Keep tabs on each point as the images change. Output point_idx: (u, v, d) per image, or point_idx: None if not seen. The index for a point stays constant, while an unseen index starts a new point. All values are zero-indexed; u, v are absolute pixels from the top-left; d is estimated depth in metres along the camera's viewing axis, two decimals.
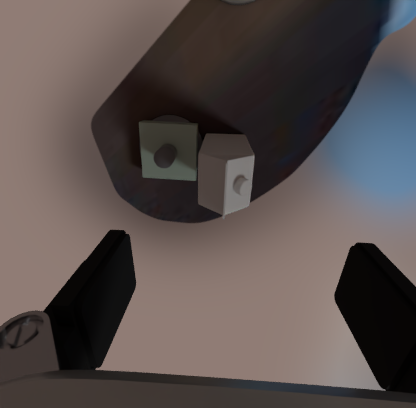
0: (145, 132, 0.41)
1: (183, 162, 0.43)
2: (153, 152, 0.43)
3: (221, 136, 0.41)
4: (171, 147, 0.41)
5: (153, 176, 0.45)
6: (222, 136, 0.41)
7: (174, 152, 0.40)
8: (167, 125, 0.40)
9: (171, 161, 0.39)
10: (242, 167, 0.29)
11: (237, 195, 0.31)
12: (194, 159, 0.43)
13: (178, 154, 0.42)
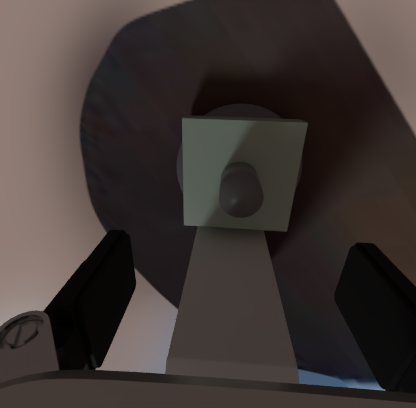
0: (284, 135, 0.19)
1: (218, 206, 0.22)
2: (240, 149, 0.20)
3: None
4: None
5: (186, 143, 0.20)
6: None
7: None
8: (293, 182, 0.21)
9: (234, 214, 0.18)
10: None
11: None
12: (225, 225, 0.23)
13: None
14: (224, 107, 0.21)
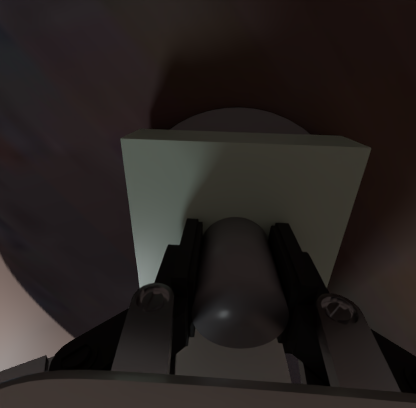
0: (322, 172, 0.10)
1: None
2: (236, 195, 0.10)
3: None
4: None
5: (133, 185, 0.10)
6: None
7: None
8: (332, 251, 0.11)
9: (226, 342, 0.09)
10: None
11: None
12: None
13: None
14: (206, 114, 0.12)
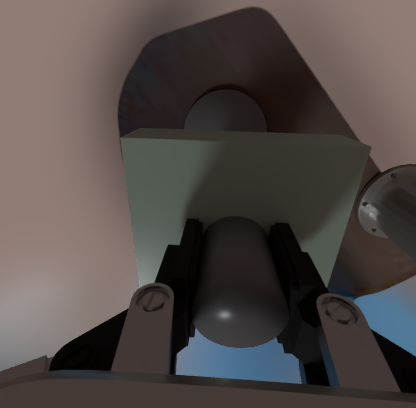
0: (322, 171, 0.10)
1: None
2: (236, 194, 0.10)
3: None
4: None
5: (133, 184, 0.10)
6: None
7: None
8: (332, 250, 0.11)
9: (226, 341, 0.09)
10: None
11: None
12: None
13: None
14: (214, 92, 0.33)
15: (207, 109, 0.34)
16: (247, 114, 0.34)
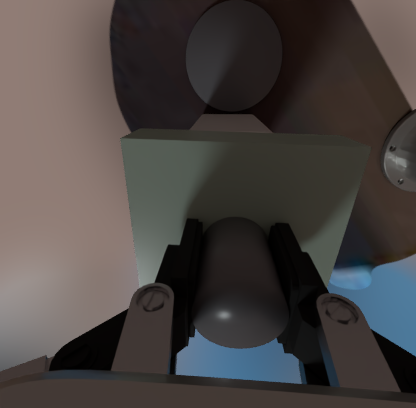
0: (322, 171, 0.10)
1: None
2: (236, 195, 0.10)
3: None
4: None
5: (133, 185, 0.10)
6: None
7: None
8: (332, 250, 0.11)
9: (226, 342, 0.09)
10: None
11: None
12: None
13: None
14: (222, 3, 0.28)
15: (213, 26, 0.29)
16: (260, 33, 0.29)
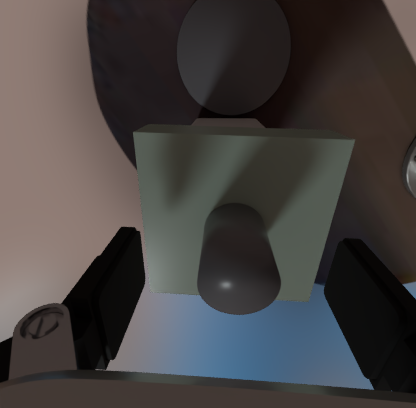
0: (312, 161, 0.11)
1: None
2: (235, 183, 0.12)
3: None
4: None
5: (143, 174, 0.12)
6: None
7: None
8: (322, 234, 0.13)
9: (227, 309, 0.10)
10: None
11: None
12: None
13: None
14: None
15: (209, 14, 0.24)
16: (265, 22, 0.24)
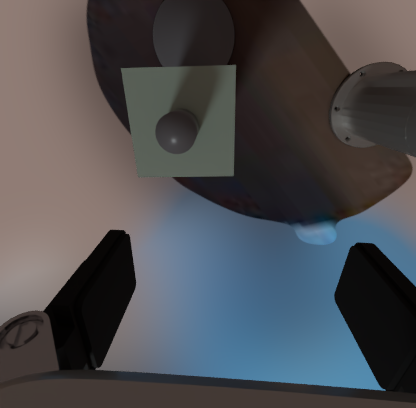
0: (216, 79, 0.21)
1: (167, 155, 0.24)
2: (178, 95, 0.21)
3: None
4: None
5: (128, 94, 0.21)
6: None
7: None
8: (231, 125, 0.22)
9: (172, 150, 0.19)
10: None
11: None
12: (176, 174, 0.25)
13: None
14: None
15: (174, 9, 0.34)
16: (213, 13, 0.34)
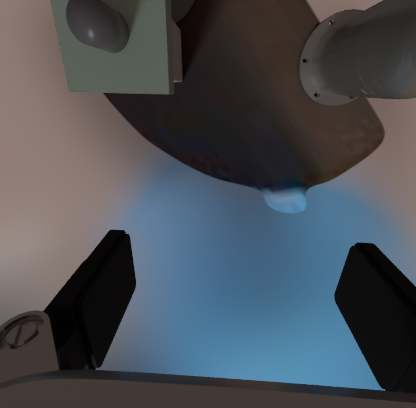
0: None
1: (98, 66, 0.22)
2: None
3: (178, 49, 0.36)
4: (120, 40, 0.20)
5: None
6: (178, 50, 0.36)
7: (111, 47, 0.20)
8: (163, 31, 0.21)
9: (86, 41, 0.18)
10: None
11: None
12: (109, 89, 0.23)
13: (112, 55, 0.22)
14: None
15: None
16: None
